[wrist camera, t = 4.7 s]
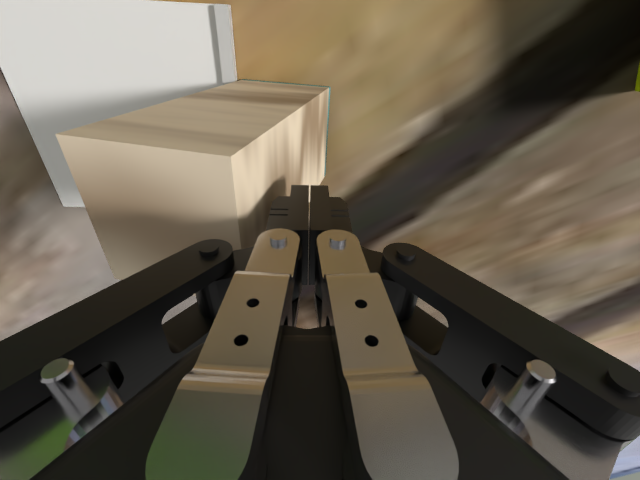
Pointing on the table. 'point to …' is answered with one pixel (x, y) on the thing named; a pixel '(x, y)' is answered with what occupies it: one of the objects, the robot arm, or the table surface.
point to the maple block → (196, 167)
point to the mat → (106, 63)
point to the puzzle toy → (638, 80)
